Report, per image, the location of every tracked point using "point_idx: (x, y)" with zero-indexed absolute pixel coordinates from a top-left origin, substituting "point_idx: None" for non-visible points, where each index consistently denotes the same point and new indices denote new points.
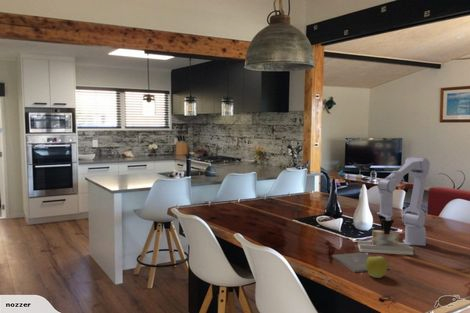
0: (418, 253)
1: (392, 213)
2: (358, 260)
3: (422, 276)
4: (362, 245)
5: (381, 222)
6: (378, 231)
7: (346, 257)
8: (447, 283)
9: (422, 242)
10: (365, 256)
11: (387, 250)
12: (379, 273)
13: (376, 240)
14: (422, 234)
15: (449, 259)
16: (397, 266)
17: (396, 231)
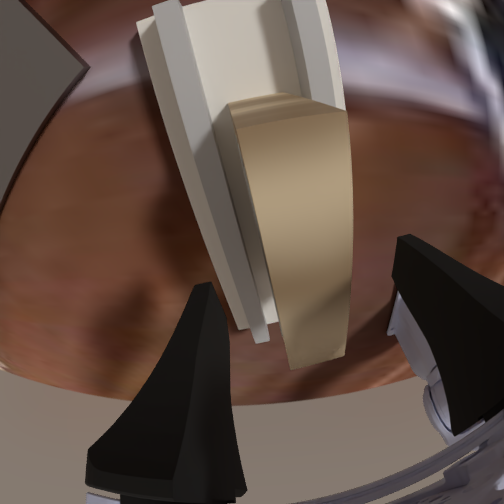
0: (273, 330)
1: None
2: None
3: (21, 333)
4: (157, 26)
5: (458, 297)
6: (286, 207)
7: None
8: (34, 367)
9: (399, 333)
10: (15, 115)
11: (207, 215)
12: None
13: (238, 147)
14: (413, 360)
15: (239, 389)
16: (29, 274)
17: (339, 349)
